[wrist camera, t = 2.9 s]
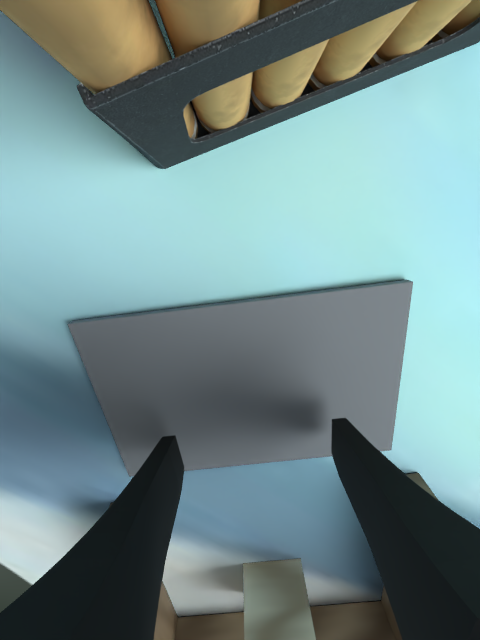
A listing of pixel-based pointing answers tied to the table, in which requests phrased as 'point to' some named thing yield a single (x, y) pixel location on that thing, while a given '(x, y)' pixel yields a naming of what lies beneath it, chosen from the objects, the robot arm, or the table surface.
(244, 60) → the ammunition clip
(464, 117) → the table surface
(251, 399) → the mat
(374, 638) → the open wooden frame
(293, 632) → the birch block
